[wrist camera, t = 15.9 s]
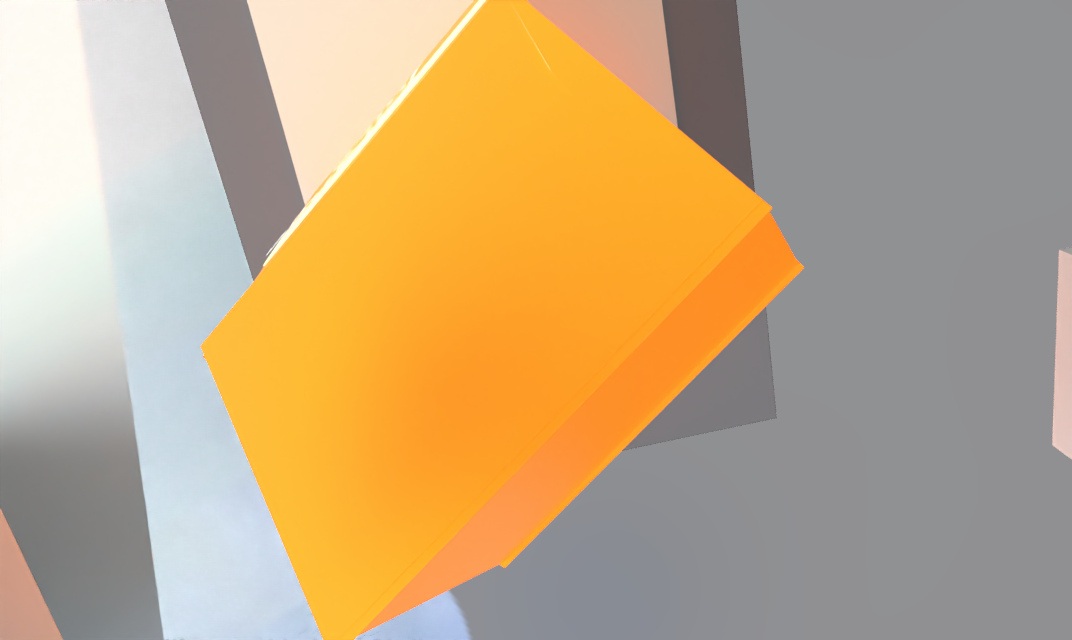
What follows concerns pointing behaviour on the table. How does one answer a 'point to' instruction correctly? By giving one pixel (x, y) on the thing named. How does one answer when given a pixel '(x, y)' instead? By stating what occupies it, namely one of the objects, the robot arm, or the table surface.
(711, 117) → the picture frame
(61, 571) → the table surface
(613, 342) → the orange juice
